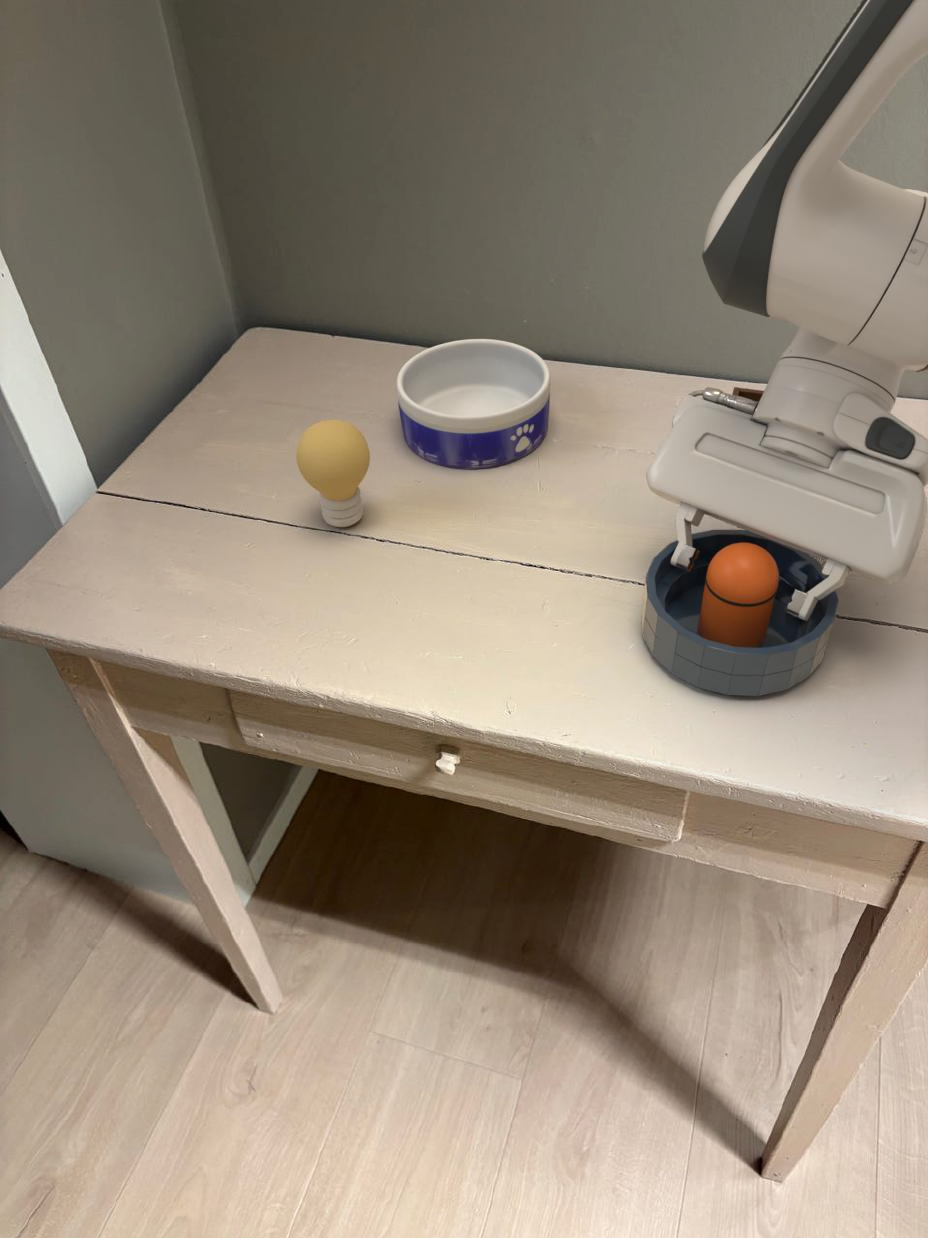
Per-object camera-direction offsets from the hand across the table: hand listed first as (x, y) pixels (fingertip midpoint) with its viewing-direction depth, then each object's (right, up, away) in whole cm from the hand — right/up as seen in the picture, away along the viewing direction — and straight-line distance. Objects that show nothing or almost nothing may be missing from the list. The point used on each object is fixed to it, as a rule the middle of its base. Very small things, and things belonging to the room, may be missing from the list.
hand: (736, 591), depth 72 cm
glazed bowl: (+1, -3, +4) cm, 5 cm away
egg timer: (+1, -3, +3) cm, 4 cm away
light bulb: (-32, +7, +17) cm, 37 cm away
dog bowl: (-19, +18, +27) cm, 38 cm away
